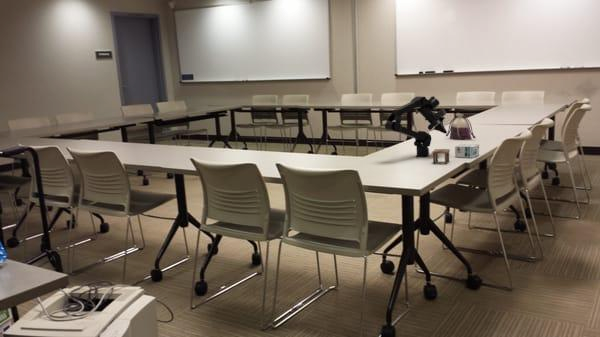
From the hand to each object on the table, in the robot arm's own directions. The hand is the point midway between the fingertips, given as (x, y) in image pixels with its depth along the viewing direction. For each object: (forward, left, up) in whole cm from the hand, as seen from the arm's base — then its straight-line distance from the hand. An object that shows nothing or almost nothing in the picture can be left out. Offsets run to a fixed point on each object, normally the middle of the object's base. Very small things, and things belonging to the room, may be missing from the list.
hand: (446, 133), depth 311 cm
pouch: (-2, +65, -14) cm, 66 cm away
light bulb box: (+6, -1, -10) cm, 12 cm away
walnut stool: (+1, -22, -14) cm, 26 cm away
